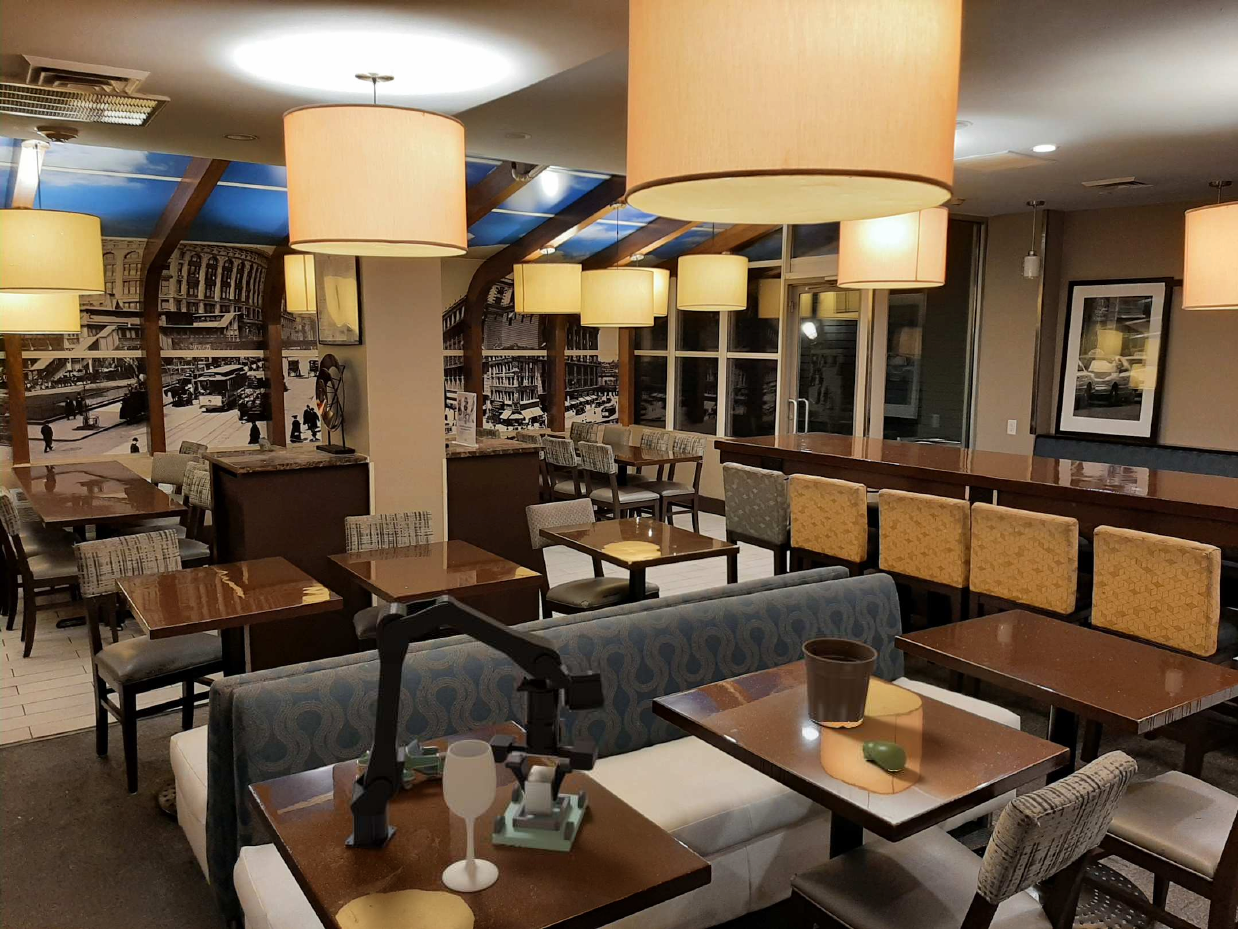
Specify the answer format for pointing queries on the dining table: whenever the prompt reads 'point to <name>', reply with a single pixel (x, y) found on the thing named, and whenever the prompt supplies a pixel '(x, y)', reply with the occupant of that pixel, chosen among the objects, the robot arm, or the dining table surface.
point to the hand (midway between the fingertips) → (541, 799)
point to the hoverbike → (414, 762)
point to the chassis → (540, 823)
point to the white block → (540, 791)
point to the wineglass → (469, 808)
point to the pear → (885, 754)
